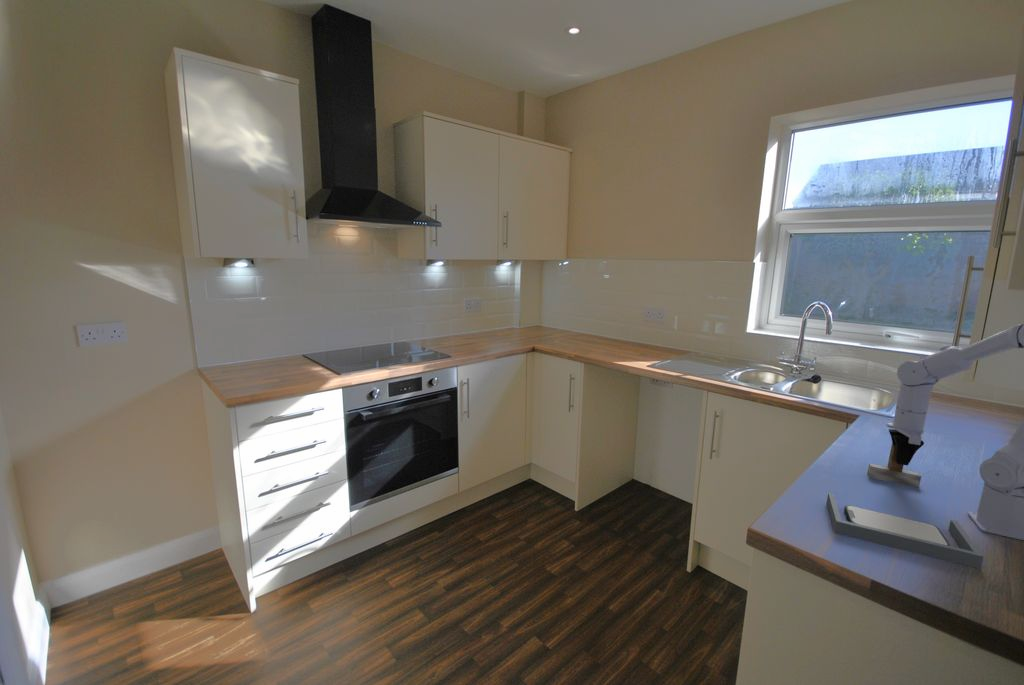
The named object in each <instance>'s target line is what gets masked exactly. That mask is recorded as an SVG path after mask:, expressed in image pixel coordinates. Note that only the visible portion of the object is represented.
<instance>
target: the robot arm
mask: <svg viewBox="0 0 1024 685" xmlns="http://www.w3.org/2000/svg"><path fill="white" fill-rule="evenodd" d="M1013 349H1024V323H1021V324H1016V325H1013V326H1011V327H1008V328H1007V329H1005V330H1003V331H1000V332H998V333H997V332H996V333H995V334H993V335H991V336H989V337H986V338H984V339H981V340H980V341H979V340H978V341H977V342H975V343H972V344H970V345H968V346H965V347H960V346H955V345H952V346H950V345H944V346H942V347H940V348H939V351H937V352H934V353H932V354H930V355H921V356H919V359H918V361H917V360H916V361H915V360H906V361H904V362H903V363H901V364H900V365H899V366H898V368H897V370H896V375H897V378H898V380H899V381H900V386H899V390H898V391H899V392H898V395H897V396H898V397H897V401H896V407H895V411H894V416H893V421H892V422H886V427H887V428H890V429H888V432H889V434H890V439H891V445H892V444H894V445H896V462H897V464H901V465H903V466H909V464H910V463H911V461H912V459H913V457H914V455H915V454H916V453H917V452H918V450H919V449H921V448H922V447H923V446H924V444H925V442H924V441H923V440H922V436H923V435H924V431H925V429H924V427H925V423H926V422H925V421H926V418H927V414H928V409H929V404H930V399H931V395H932V391H933V389H934V386H935V385H936V384H937V383H939V382H940V381H941V380H943V379H945V378H948V377H951V376H953V375H954V376H955V375H957V374H960V373H962V372H965V371H968V370H970V369H971V368H972V366H973V364H974V362H976V361H979V360H982V359H984V358H988V357H991V356H995V355H998V354H1000V353H1005V352H1007V351H1010V350H1013ZM978 472H979V475H980V477H981V479H982V480H983V482H984V483H983V486H982V491H981V495H980V499H979V503H978V507H977V511H976V512H975V511H967V515H968V516H969V517H970V519H971V520H972V521H973V522H974V524H975V525H976V526H977V527H978V529H979V530H980V531H982V532H984V533H989V534H993V535H998V536H1003V537H1007V538H1011V539H1017V540H1021V541H1024V418H1023V419H1022V420H1021V422H1020V424H1019V425H1018V427H1017V429H1016V430H1015V432H1014V433H1013V435H1012V437H1011V439H1010V440H1009V442H1007V443H1005V444H1004V445H1003V446H1002V447H1000V448H998V449H997V450H996V451H995V453H994V454H993V455H992V456H991V457H989V458H988V459H985V460H983V461H982V463H980V465H979V471H978Z"/></svg>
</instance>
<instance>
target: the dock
mask: <svg viewBox="0 0 1024 685" xmlns="http://www.w3.org/2000/svg"><path fill="white" fill-rule="evenodd" d="M826 506H827V510H828V513H829V518H830V521H831V525H832V528H833V532H834V534H835V533H836V534H839V535H843V536H847V537H851V538H855V539H859V540H863V541H868V542H870V543H871V542H872V543H874V544H879V545H883V546H887V547H892V548H894V549H900V550H903V551H907V552H911V553H915V554H919V555H923V556H927V557H932V558H935V559H939V560H943V561H947V562H951V563H955V564H959V565H962V566H967V567H971V568H973V569H974V568H976V569H980V570H981V569H982V564H983V561H984V555H983V554H982V553H981V551H980V550H979V549H978V547H977V546H976V544H975V543H974V542H973V540H972V539H971V538H970V536H969V535H968V533H967V532H966V531H965V529H964V528H963V527H962V526H961V524H960V523H959V522H958V520H954V519H950V521H949V526H948V529H947V531H948V533H949V534H950V535H951V537H952V538H953V541H955V543H956V544H957V546H958V547H955V546H951V545H950V546H948V545H943V544H939V543H935V542H931V541H927V540H923V539H918V538H914V537H910V536H906V535H902V534H897V533H893V532H889V531H885V530H881V529H876V528H872V527H868V526H864V525H860V524H855V523H851V522H848V521H847V520H843V519H842V517H841V513H840V510H839V508H838V503H837V501H836V498H835V495H834V493H831V492H828V494H827V498H826Z"/></svg>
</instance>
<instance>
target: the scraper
mask: <svg viewBox="0 0 1024 685" xmlns="http://www.w3.org/2000/svg"><path fill="white" fill-rule="evenodd" d="M867 467H868V468H867V472H866V473H867V474H866V475H867V477H868V478H871V479H877V480H882V481H886V482H890V483H894V484H895V483H896V484H901V485H904V486H905V485H906V486H911V487H915V486H916V488H920V484H921V480H922V475H921V473H920V472H917V471H911V470H906V469H904V465H901V464H897V462H896V445H894V444H892V443H891V446H890V453H889V457H888V462H887V466H885V465H880V464H874V463H868V466H867Z"/></svg>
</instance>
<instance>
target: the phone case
mask: <svg viewBox="0 0 1024 685" xmlns="http://www.w3.org/2000/svg"><path fill="white" fill-rule="evenodd" d="M843 512H844V514H845V517H846V521H847V522H851V523H855V524H860V525H864V526H868V527H872V528H876V529H881V530H885V531H889V532H893V533H897V534H902V535H906V536H910V537H914V538H918V539H923V540H927V541H931V542H935V543H939V544H943V545H948V546H951V544H950V543H949V542H948V540H947V538H946V537H945V536H944V534H943V532H942V531H941V530H940V528H938V527H937V526H935V525H933V524H930V523H927V522H923V521H922V522H921V521H917V520H913V519H909V518H905V517H901V516H897V515H891V514H888V513H884V512H879V511H876V510H875V511H874V510H871V509H867V508H863V507H858V506H853V505H845V506H844V509H843Z"/></svg>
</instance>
